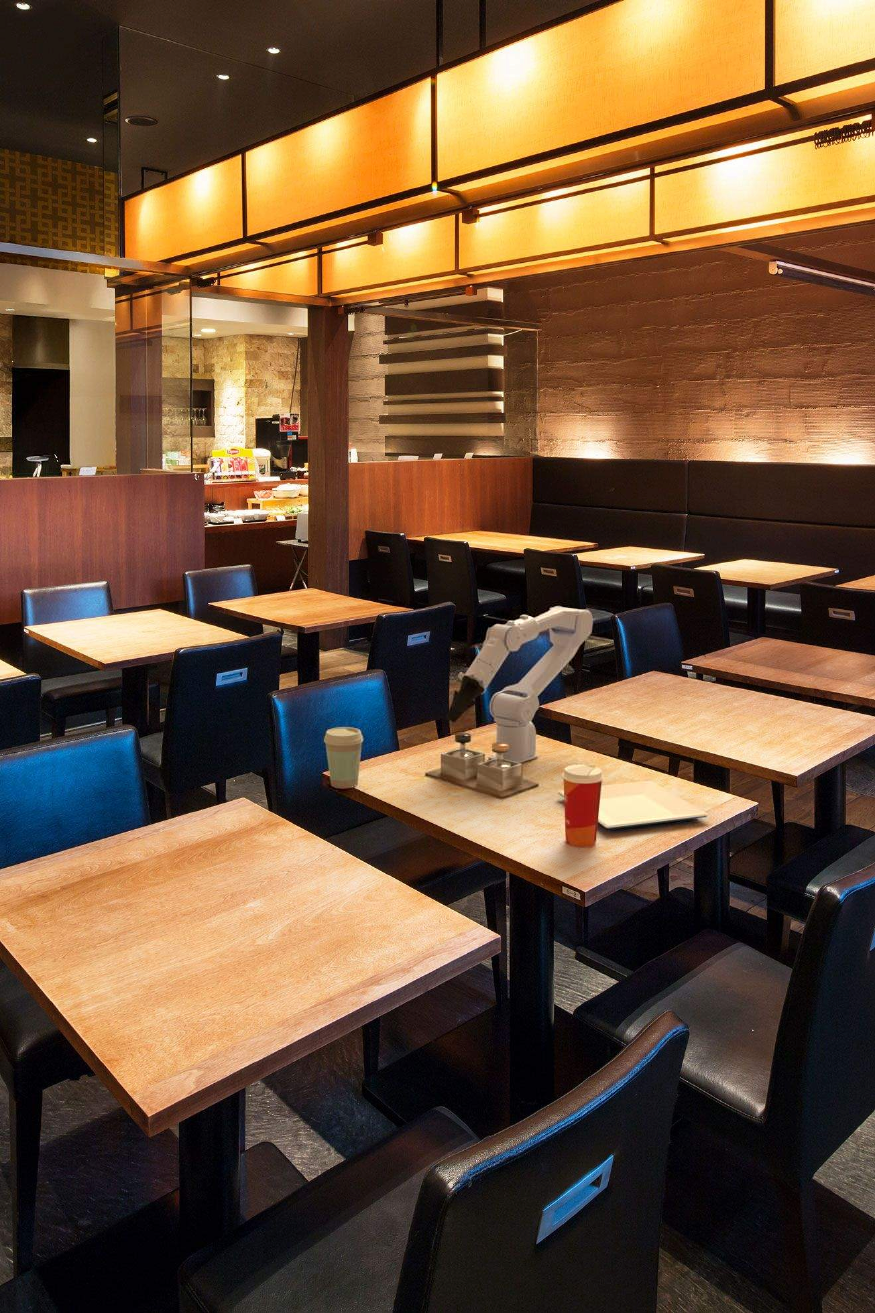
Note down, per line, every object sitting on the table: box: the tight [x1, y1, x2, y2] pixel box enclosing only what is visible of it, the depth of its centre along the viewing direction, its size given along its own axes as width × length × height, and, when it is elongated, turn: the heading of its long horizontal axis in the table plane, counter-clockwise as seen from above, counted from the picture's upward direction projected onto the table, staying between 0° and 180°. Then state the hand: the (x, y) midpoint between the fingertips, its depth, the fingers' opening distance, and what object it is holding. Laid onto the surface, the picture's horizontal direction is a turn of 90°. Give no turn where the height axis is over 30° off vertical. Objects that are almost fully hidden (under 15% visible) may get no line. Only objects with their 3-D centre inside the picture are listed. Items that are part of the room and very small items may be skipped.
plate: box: [557, 780, 709, 830], centre depth 206 cm, size 22×22×2 cm
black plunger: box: [452, 732, 473, 759], centre depth 227 cm, size 5×5×5 cm
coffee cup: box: [323, 726, 364, 790], centre depth 221 cm, size 8×9×12 cm
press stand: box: [424, 747, 539, 800], centre depth 224 cm, size 12×23×5 cm, turn 46°
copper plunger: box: [489, 741, 511, 770], centre depth 220 cm, size 5×5×5 cm
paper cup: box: [561, 764, 605, 848], centre depth 188 cm, size 8×8×14 cm
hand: (453, 715), depth 224 cm, fingers open, 7 cm apart
